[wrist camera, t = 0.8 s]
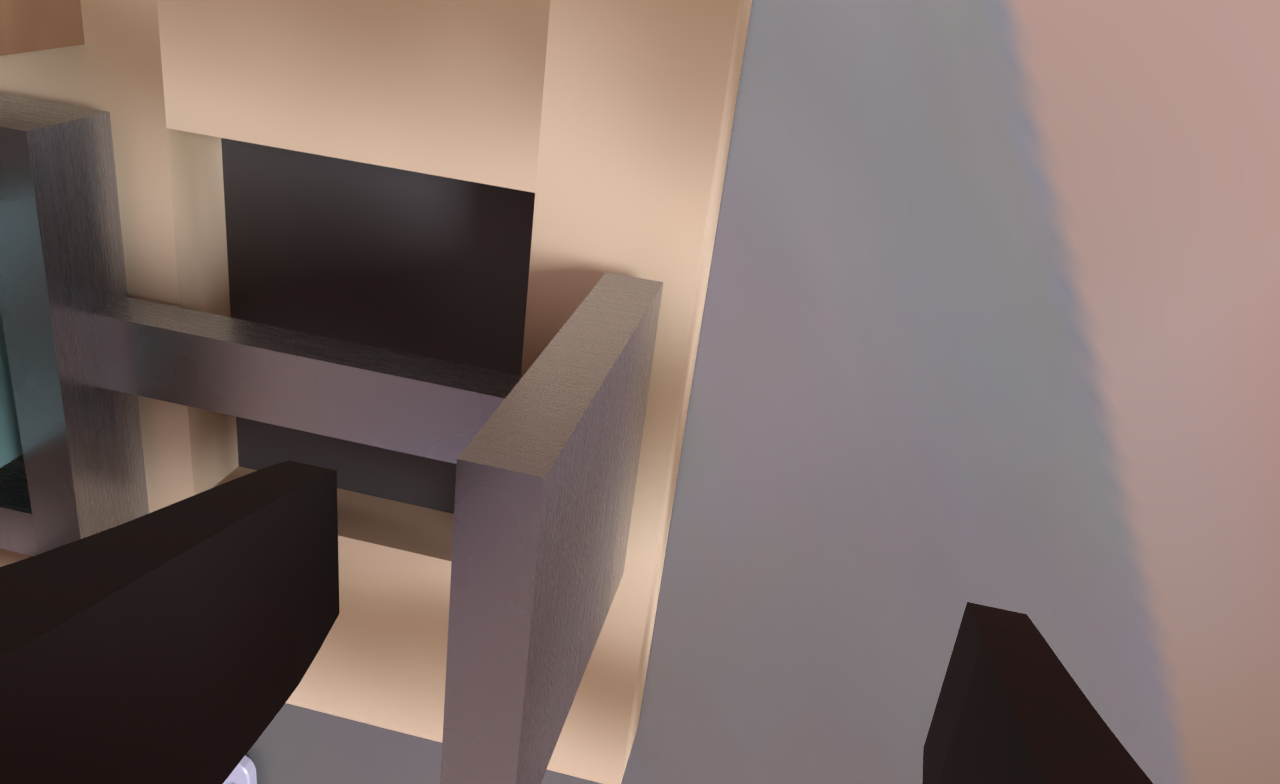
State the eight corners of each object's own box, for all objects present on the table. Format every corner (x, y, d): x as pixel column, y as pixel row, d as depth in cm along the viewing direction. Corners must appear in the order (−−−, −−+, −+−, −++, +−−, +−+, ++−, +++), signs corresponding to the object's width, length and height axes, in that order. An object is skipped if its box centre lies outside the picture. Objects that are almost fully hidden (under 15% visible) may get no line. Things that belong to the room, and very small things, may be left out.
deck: (638, 726, 25) (619, 787, 23) (-314, 492, 28) (-394, 529, 27) (767, -101, 17) (755, -105, 15) (-561, -275, 21) (-697, -294, 19)
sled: (616, 625, 20) (502, 930, 14) (-195, 436, 23) (-595, 624, 17) (673, 210, 17) (554, 373, 11) (-297, 41, 19) (-857, 91, 13)
